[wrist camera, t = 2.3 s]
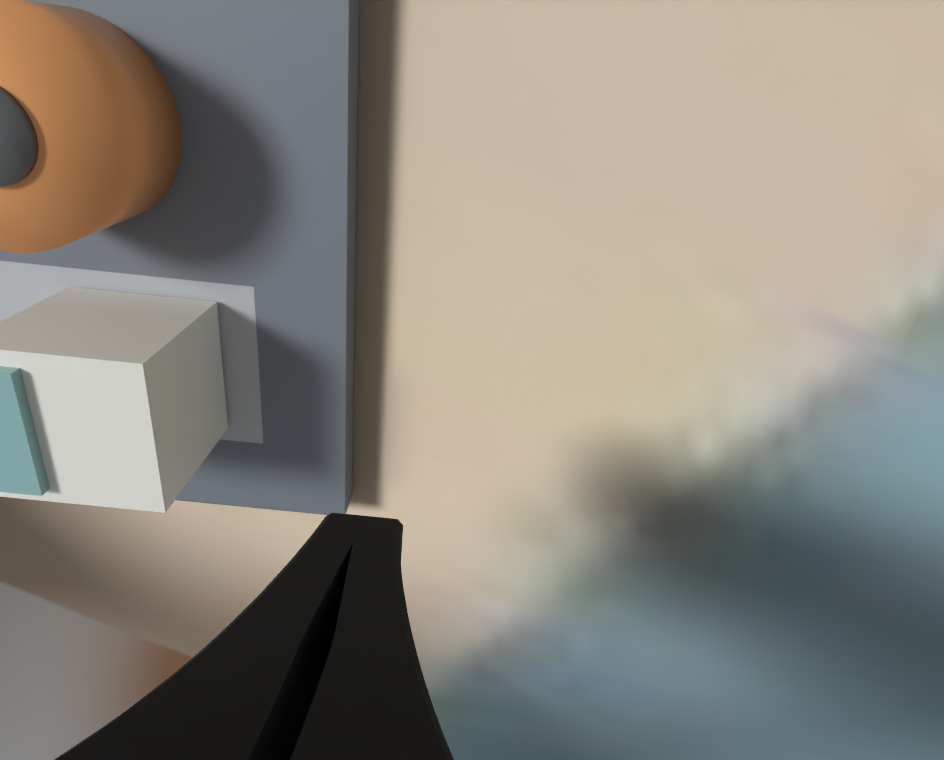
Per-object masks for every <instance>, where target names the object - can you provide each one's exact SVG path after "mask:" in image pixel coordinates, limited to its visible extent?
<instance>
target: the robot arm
mask: <svg viewBox="0 0 944 760" xmlns="http://www.w3.org/2000/svg"><path fill="white" fill-rule="evenodd" d="M402 533H403V525H402V524H401V522H400V521H399V520H398V519H390V518H380V517H370V516H360V515H350V514H340V513H330V514H329V515H328V516H326V517H325V518H324V520H323V521H322V522H321V524H320V525H319V526H318V528H317V529H316V530H315V532H314V533H313V534H312V535H311V537H310V538H309V539H308V540H307V542H306V543H305V544H304V545H303V546H302V548H301V549H300V550H299V551H298V552H297V554H296V555H295V556H294V557H293V558H292V559H291V561H290V562H289V563H288V564H287V565H286V566H285V567H284V568H283V570H282V571H281V572H280V573H279V574H278V575H277V576H276V577H275V578H274V579H273V581H272V582H271V583H270V584H269V585H268V586H267V587H266V588H265V589H264V590H263V591H262V593H261V594H260V595H259V596H258V597H257V598H256V599H255V600H254V601H253V602H252V603H251V604H250V605H249V606H248V607H247V608H246V609H245V610H244V611H243V612H242V613H241V614H240V615H239V616H237V617H236V618H235V619H234V620H233V621H232V622H231V623H230V624H229V625H228V626H227V627H226V628H225V629H224V630H223V631H222V632H221V633H220V634H219V635H218V636H217V637H216V638H215V639H213V640H212V641H211V642H210V643H209V644H208V645H207V646H206V647H205V648H203V649H202V650H201V651H200V652H199V653H198V654H197V655H195V656H194V657H193V658H192V659H191V660H190V661H189V662H187V663H186V664H185V665H184V666H183V667H181V668H180V669H179V670H178V671H176V672H175V673H174V674H173V675H172V676H170V677H169V678H168V679H167V680H165V681H164V682H163V683H161V684H160V685H159V686H158V687H156V688H155V689H154V690H152V691H151V692H150V693H149V694H147V695H146V696H145V697H143V698H142V699H141V700H140V701H138V702H137V703H136V704H134V705H133V706H132V707H130V708H129V709H128V710H126V711H125V712H124V713H122V714H121V715H120V716H118V717H117V718H116V719H114V720H113V721H111V722H110V723H108V724H107V725H106V726H104V727H103V728H101V729H100V730H98V731H97V732H95V733H94V734H92V735H91V736H89V737H88V738H86V739H85V740H83V741H82V742H80V743H79V744H77V745H76V746H74V747H73V748H71V749H70V750H68V751H67V752H65V753H64V754H63V755H61V756H59V757H58V758H56V759H55V760H454V759H453V757H452V754H451V752H450V750H449V747H448V745H447V742H446V740H445V738H444V735H443V733H442V730H441V727H440V725H439V722H438V719H437V716H436V713H435V711H434V708H433V705H432V702H431V699H430V696H429V693H428V690H427V687H426V684H425V681H424V677H423V674H422V670H421V667H420V663H419V660H418V656H417V652H416V648H415V644H414V640H413V636H412V632H411V628H410V623H409V618H408V613H407V607H406V601H405V595H404V589H403V582H402V574H401V550H402Z"/></svg>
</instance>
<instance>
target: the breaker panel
mask: <svg viewBox="0 0 944 760" xmlns="http://www.w3.org/2000/svg"><path fill="white" fill-rule="evenodd" d="M28 1H35V2H42V3H48V4H55V5H62V6H68V7H73V8H78V9H81V10H84V11H87V12H90V13H92V14H95V15H97V16H99V17H101V18H103V19H105V20H107V21H108V22H110V23H112V24H113V25H115V26H116V27H118V28H119V29H121V30H122V31H123V32H124V33H126V34H127V35H128V36H130V37H131V38H132V39H133V40H134V41H135V42H136V43H137V44H138V45H139V46H140V47H141V48H142V49H143V50H144V51H145V52H146V54H147V55H148V56H149V57H150V58H151V60H152V61H153V62H154V64H155V65H156V67H157V68H158V70H159V71H160V73H161V74H162V76H163V78H164V79H165V81H166V83H167V85H168V87H169V89H170V91H171V94H172V96H173V99H174V101H175V104H176V108H177V111H178V115H179V119H180V125H181V132H182V151H181V159H180V164H179V168H178V171H177V174H176V177H175V179H174V181H173V183H172V185H171V187H170V188H169V190H168V192H167V193H166V194H165V195H164V196H163V198H162V199H161V200H160V201H159V202H158V203H156V204H155V205H154V206H153V207H152V208H150V209H148V210H147V211H145V212H144V213H141V214H139V215H137V216H134V217H132V218H129V219H127V220H124V221H122V222H120V223H117V224H115V225H112V226H110V227H107V228H105V229H102V230H100V231H98V232H95V233H93V234H90V235H88V236H85V237H83V238H80V239H78V240H76V241H73V242H71V243H68V244H66V245H63V246H61V247H58V248H56V249H52V250H48V251H44V252H36V253H14V252H8V251H1V250H0V321H2V320H4V319H6V318H8V317H10V316H12V315H14V314H16V313H18V312H20V311H22V310H24V309H26V308H28V307H30V306H32V305H34V304H36V303H38V302H40V301H41V300H43V299H45V298H47V297H49V296H51V295H53V294H55V293H57V292H59V291H61V290H63V289H65V288H67V287H77V288H87V289H97V290H107V291H116V292H126V293H136V294H146V295H155V296H165V297H175V298H184V299H194V300H204V301H214V302H217V310H218V321H219V333H220V344H221V355H222V366H223V377H224V388H225V399H226V411H227V422H228V429H227V430H226V431H225V433H224V434H223V436H222V437H221V438H220V440H219V441H218V442H217V444H216V445H215V446H214V448H213V449H212V450H211V452H210V453H209V454H208V456H207V457H206V458H205V460H204V461H203V462H202V464H201V465H200V467H199V468H198V469H197V471H196V472H195V473H194V475H193V476H192V477H191V479H190V480H189V481H188V483H187V484H186V485H185V487H184V488H183V489H182V491H181V492H180V494H179V495H178V496H177V498H176V499H175V500H180V501H190V502H201V503H211V504H221V505H231V506H241V507H252V508H262V509H272V510H282V511H292V512H303V513H313V514H323V515H329V514H330V513H340V514H346V511H347V508H348V505H349V502H350V499H351V496H352V472H353V403H354V334H355V264H356V195H357V126H358V57H359V0H28Z"/></svg>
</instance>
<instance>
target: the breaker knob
mask: <svg viewBox="0 0 944 760" xmlns="http://www.w3.org/2000/svg"><path fill="white" fill-rule="evenodd" d="M227 429H228V422H227V411H226V399H225V388H224V377H223V366H222V355H221V344H220V333H219V321H218V310H217V302H214V301H204V300H194V299H184V298H175V297H165V296H155V295H146V294H136V293H126V292H116V291H107V290H97V289H87V288H77V287H67V288H65V289H63V290H61V291H59V292H57V293H55V294H53V295H51V296H49V297H47V298H45V299H43V300H41V301H40V302H38V303H36V304H34V305H32V306H30V307H28V308H26V309H24V310H22V311H20V312H18V313H16V314H14V315H12V316H10V317H8V318H6V319H4V320H2V321H0V497H10V498H20V499H30V500H40V501H51V502H61V503H71V504H81V505H92V506H102V507H112V508H122V509H133V510H143V511H153V512H163V513H165V512H166V511H167V510H168V508H169V507H170V506H171V504H172V503H173V502H174V500H175V499H176V498H177V496H178V495H179V494H180V492H181V491H182V489H183V488H184V487H185V485H186V484H187V483H188V481H189V480H190V479H191V477H192V476H193V475H194V473H195V472H196V471H197V469H198V468H199V467H200V465H201V464H202V462H203V461H204V460H205V458H206V457H207V456H208V454H209V453H210V452H211V450H212V449H213V448H214V446H215V445H216V444H217V442H218V441H219V440H220V438H221V437H222V436H223V434H224V433H225V431H226V430H227Z"/></svg>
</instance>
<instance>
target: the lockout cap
mask: <svg viewBox="0 0 944 760" xmlns="http://www.w3.org/2000/svg"><path fill="white" fill-rule="evenodd" d="M181 151H182V132H181V125H180V119H179V115H178V111H177V108H176V104H175V101H174V99H173V96H172V94H171V91H170V89H169V87H168V85H167V83H166V81H165V79H164V78H163V76H162V74H161V73H160V71H159V70H158V68H157V67H156V65H155V64H154V62H153V61H152V60H151V58H150V57H149V56H148V55H147V54H146V52H145V51H144V50H143V49H142V48H141V47H140V46H139V45H138V44H137V43H136V42H135V41H134V40H133V39H132V38H131V37H130V36H128V35H127V34H126V33H124V32H123V31H122V30H121V29H119V28H118V27H116V26H115V25H113V24H112V23H110V22H108V21H107V20H105V19H103V18H101V17H99V16H97V15H95V14H92V13H90V12H87V11H84V10H81V9H78V8H73V7H68V6H62V5H55V4H48V3H42V2H35V1H28V0H0V250H1V251H8V252H14V253H36V252H44V251H48V250H52V249H56V248H58V247H61V246H63V245H66V244H68V243H71V242H73V241H76V240H78V239H80V238H83V237H85V236H88V235H90V234H93V233H95V232H98V231H100V230H102V229H105V228H107V227H110V226H112V225H115V224H117V223H120V222H122V221H124V220H127V219H129V218H132V217H134V216H137V215H139V214H141V213H144V212H145V211H147V210H148V209H150V208H152V207H153V206H154V205H155V204H156V203H158V202H159V201H160V200H161V199H162V198H163V196H164V195H165V194H166V193H167V192H168V190H169V188H170V187H171V185H172V183H173V181H174V179H175V177H176V174H177V171H178V168H179V164H180V159H181Z"/></svg>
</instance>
